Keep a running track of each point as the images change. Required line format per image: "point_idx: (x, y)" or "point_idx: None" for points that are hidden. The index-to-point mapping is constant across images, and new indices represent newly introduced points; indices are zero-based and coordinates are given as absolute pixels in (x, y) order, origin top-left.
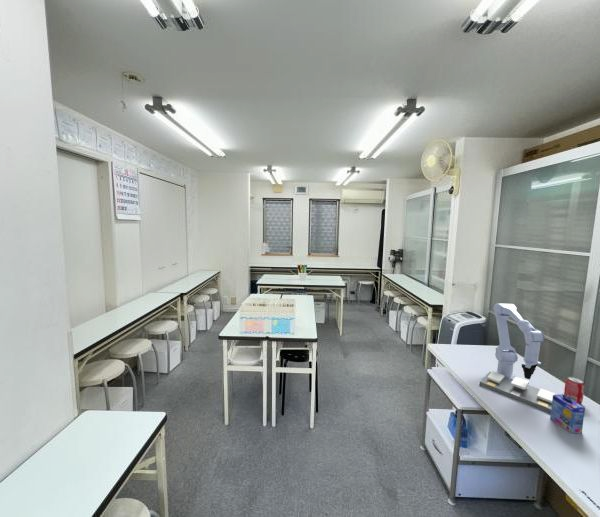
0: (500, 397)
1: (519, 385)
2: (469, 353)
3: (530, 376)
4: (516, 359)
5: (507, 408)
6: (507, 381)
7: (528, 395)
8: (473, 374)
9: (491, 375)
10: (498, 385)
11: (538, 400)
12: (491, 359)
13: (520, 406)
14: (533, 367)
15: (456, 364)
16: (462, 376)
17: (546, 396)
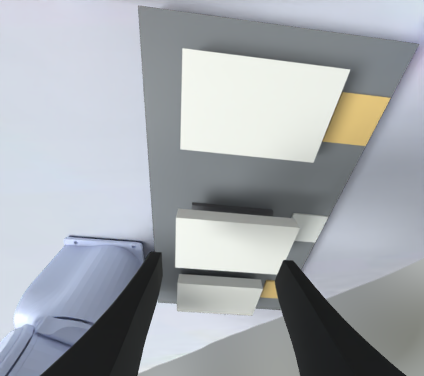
0: (332, 249)
1: (286, 248)
2: None
3: (316, 290)
4: (17, 357)
5: (414, 226)
6: None
7: (283, 186)
8: (208, 313)
9: (224, 309)
10: (266, 274)
11: None
12: (10, 299)
13: (373, 194)
14: (131, 337)
15: (178, 342)
16: (250, 326)
17: (291, 111)
